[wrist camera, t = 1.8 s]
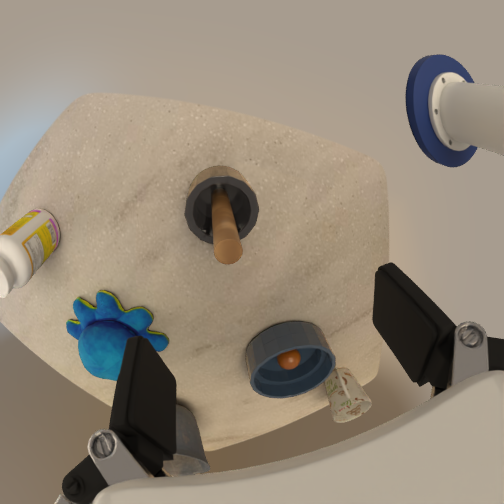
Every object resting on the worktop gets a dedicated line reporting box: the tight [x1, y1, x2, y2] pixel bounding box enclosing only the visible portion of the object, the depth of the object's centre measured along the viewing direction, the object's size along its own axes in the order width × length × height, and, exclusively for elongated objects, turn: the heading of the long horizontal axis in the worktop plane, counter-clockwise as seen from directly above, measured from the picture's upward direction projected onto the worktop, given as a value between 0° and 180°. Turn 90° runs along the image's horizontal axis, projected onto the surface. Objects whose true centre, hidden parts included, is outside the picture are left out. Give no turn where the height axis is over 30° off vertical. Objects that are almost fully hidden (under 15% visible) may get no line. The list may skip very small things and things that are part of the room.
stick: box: [211, 188, 243, 264], centre depth 25 cm, size 2×2×14 cm
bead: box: [277, 349, 301, 370], centre depth 43 cm, size 4×4×4 cm
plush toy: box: [66, 290, 169, 381], centre depth 35 cm, size 17×17×8 cm
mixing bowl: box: [246, 321, 336, 398], centre depth 43 cm, size 14×14×6 cm
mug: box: [324, 368, 372, 422], centre depth 48 cm, size 8×13×10 cm, turn 25°
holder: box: [185, 166, 259, 244], centre depth 29 cm, size 7×7×6 cm
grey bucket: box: [163, 404, 210, 476], centre depth 44 cm, size 18×18×15 cm
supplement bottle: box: [0, 209, 60, 298], centre depth 24 cm, size 7×7×13 cm
